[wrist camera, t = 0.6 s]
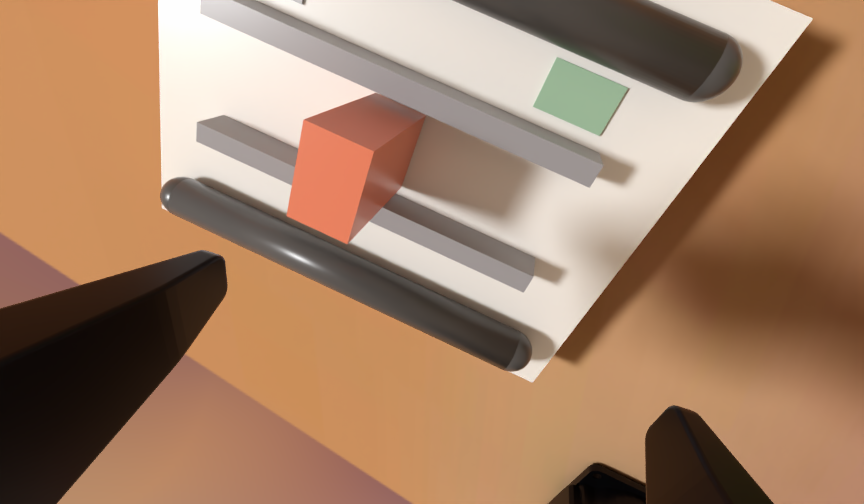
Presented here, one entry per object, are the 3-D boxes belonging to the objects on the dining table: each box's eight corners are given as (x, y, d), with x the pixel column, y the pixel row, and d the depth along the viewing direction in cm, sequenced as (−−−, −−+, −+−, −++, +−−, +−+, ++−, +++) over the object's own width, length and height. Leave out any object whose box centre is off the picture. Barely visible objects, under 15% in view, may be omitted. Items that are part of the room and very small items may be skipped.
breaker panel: (770, 19, 13) (855, 17, 9) (534, 347, 21) (530, 413, 18) (214, -216, 14) (92, -302, 10) (199, 190, 22) (129, 222, 19)
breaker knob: (426, 115, 15) (373, 151, 10) (401, 187, 16) (347, 244, 12) (375, 92, 15) (303, 119, 10) (356, 166, 16) (286, 216, 12)
